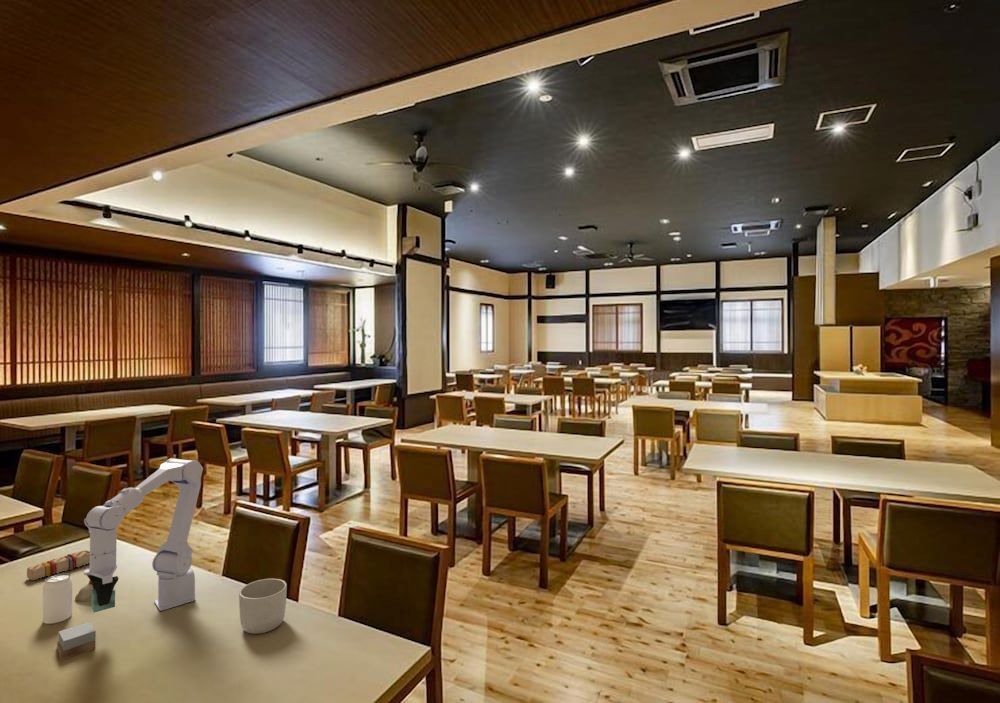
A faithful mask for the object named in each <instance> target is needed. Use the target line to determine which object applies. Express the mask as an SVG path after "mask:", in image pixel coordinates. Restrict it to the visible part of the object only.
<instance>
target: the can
mask: <svg viewBox="0 0 1000 703" xmlns="http://www.w3.org/2000/svg"><path fill="white" fill-rule="evenodd" d="M71 616H73V578H72V577H71V574H70V573H57V574H54V575H50V576H48V577H46V579H45V580H44V584H43V586H42V623H44V624H45V625H55V624H60V623H62V622H64V621H67V620H68V619H69V618H71Z"/></svg>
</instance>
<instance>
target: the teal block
mask: <svg viewBox="0 0 1000 703" xmlns="http://www.w3.org/2000/svg"><path fill="white" fill-rule="evenodd" d="M90 606H91V609H92V612H93V613H98V612H102V611H105V610H108V609H111V608H115V607H116V589H115V587H114V588H113V591H112V595H111V599H110V602H109V604H106V605H103V606H99V604H98V600H97V594H96V590H95V589H94V590H91V600H90Z"/></svg>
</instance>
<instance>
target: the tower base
mask: <svg viewBox="0 0 1000 703" xmlns="http://www.w3.org/2000/svg"><path fill="white" fill-rule="evenodd" d="M56 649H57V653H58V656H59V660H61V661H62V660H64V659H68V658H70V657H73V656H76V655H77V656H78V655H79V654H83V653H85V652H88V651H91V650H95V649H96V639H95V640H94V641H91V642H88V643H85V644H83V645H80V646H77V647H74V648H71V649H68V650H65V651H63V649H62V647H61V645H60V643H59V639H58V640H56Z"/></svg>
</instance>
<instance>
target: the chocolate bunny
mask: <svg viewBox="0 0 1000 703" xmlns="http://www.w3.org/2000/svg"><path fill="white" fill-rule="evenodd" d="M86 576H87V578H88V579H89V581H88V583H87V584H85V585H84V586H82V587H81V588H80V589H79V590H78V592H77V594H76V595H75V598H74V600H75V601H78V602H88V601H89V602H90V601H91V590H94V589H93V585H92V584H91V580H90V578H89V577H88V575H86Z"/></svg>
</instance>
